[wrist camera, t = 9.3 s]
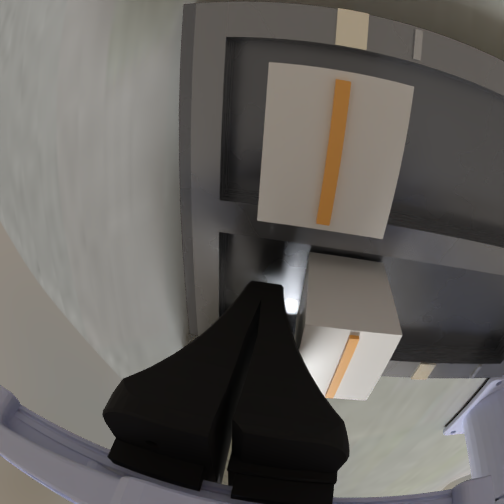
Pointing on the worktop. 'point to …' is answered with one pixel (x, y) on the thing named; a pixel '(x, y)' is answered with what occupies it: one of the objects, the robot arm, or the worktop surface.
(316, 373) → the rear fader knob
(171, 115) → the worktop surface
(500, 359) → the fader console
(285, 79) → the knob
